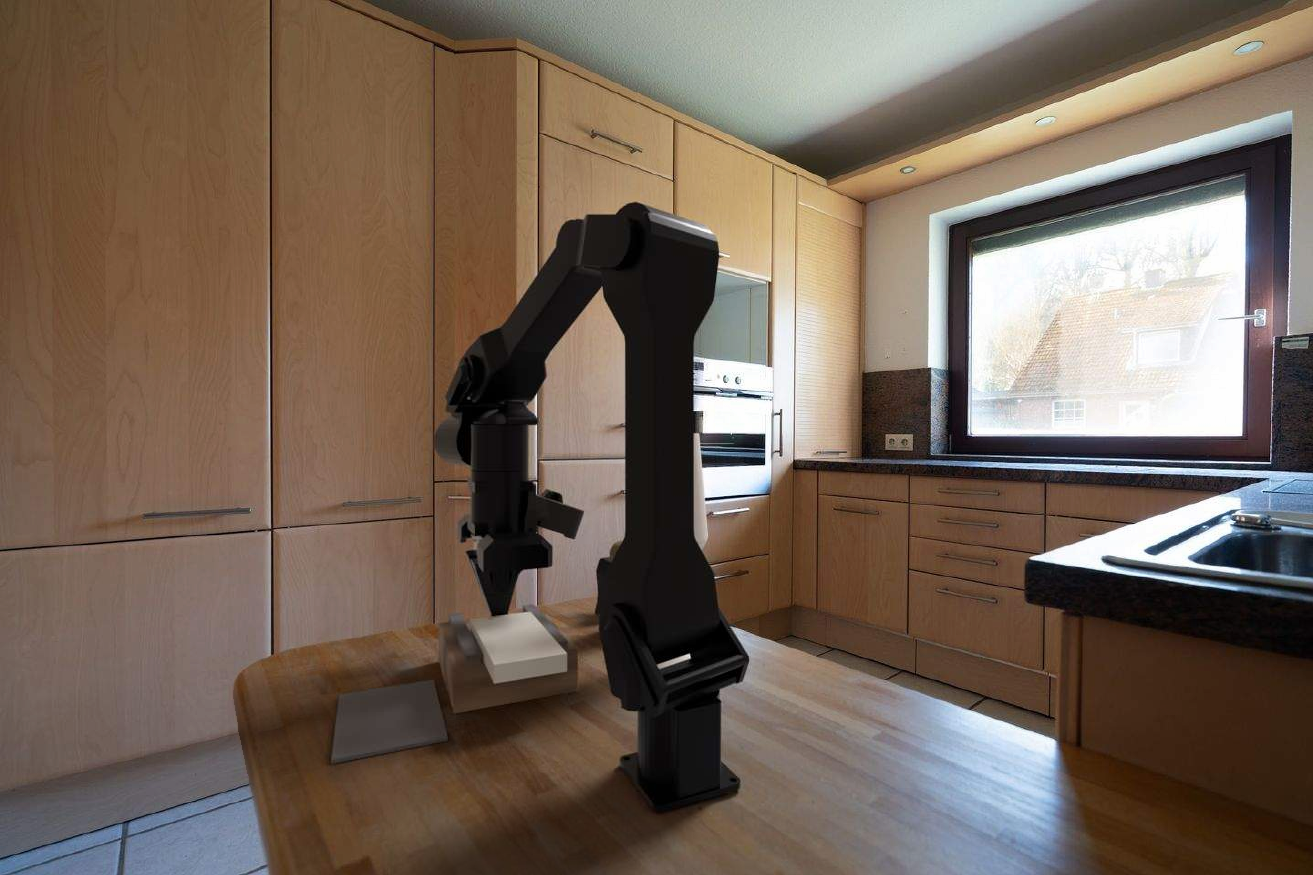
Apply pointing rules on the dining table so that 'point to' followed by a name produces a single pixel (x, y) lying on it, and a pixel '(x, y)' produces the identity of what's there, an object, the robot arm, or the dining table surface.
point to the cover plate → (517, 647)
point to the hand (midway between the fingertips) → (499, 622)
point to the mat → (387, 721)
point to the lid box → (473, 680)
